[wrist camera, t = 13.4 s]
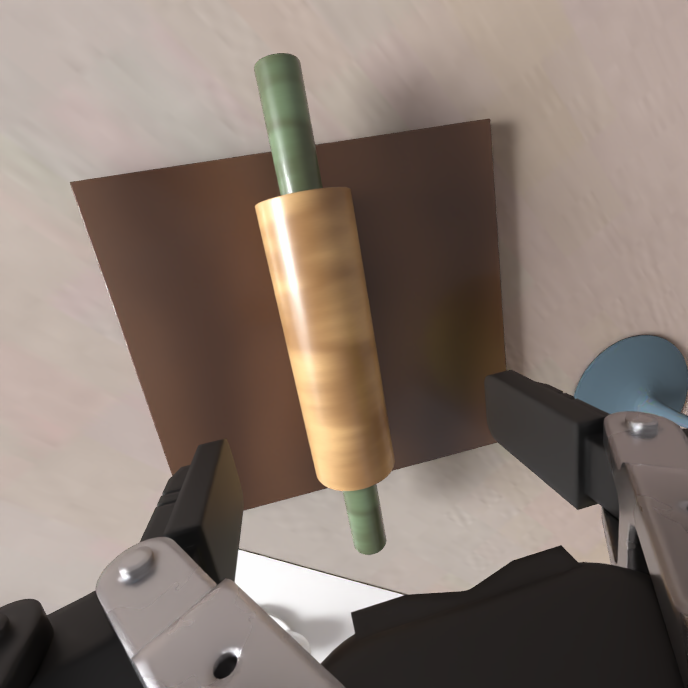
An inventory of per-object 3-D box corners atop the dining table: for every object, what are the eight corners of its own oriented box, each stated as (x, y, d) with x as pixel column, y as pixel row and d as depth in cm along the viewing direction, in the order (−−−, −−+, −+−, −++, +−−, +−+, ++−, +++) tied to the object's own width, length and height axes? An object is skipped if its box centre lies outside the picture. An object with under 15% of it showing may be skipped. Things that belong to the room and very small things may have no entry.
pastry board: (193, 513, 26) (189, 525, 25) (80, 186, 20) (68, 182, 19) (501, 431, 29) (511, 438, 28) (480, 124, 23) (490, 118, 22)
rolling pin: (329, 525, 27) (340, 584, 22) (230, 93, 20) (214, 41, 15) (394, 507, 28) (418, 560, 23) (322, 81, 20) (336, 27, 15)
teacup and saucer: (320, 620, 30) (326, 674, 26) (279, 693, 31) (279, 755, 28) (217, 595, 28) (207, 650, 24) (177, 675, 29) (161, 740, 25)
